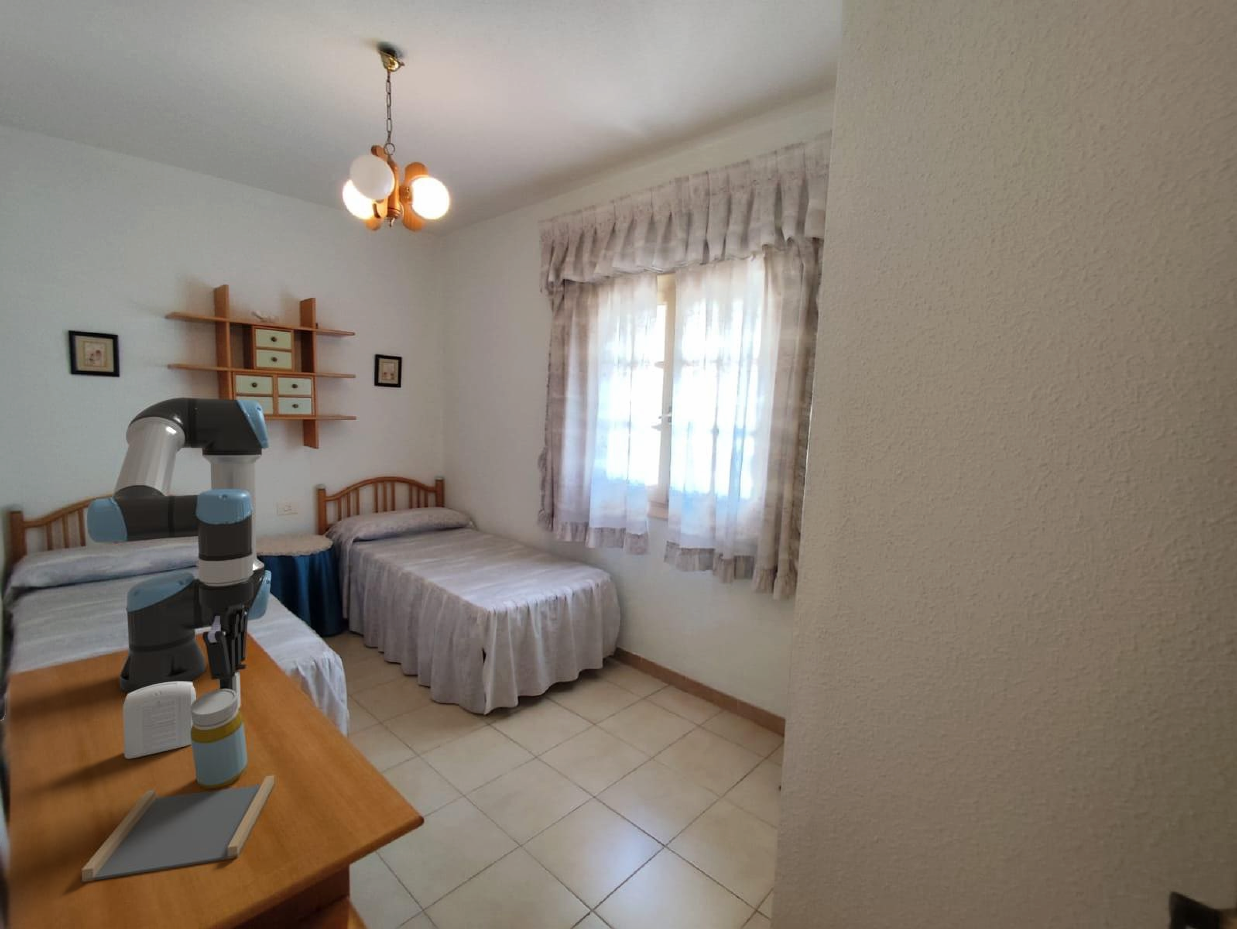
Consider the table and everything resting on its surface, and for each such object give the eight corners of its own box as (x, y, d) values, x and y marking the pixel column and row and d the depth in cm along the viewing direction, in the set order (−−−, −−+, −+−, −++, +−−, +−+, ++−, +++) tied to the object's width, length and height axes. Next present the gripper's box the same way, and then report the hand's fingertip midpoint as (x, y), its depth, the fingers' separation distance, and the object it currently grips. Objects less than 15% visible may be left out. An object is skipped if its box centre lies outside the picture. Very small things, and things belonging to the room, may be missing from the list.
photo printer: (198, 733, 103) (196, 672, 102) (195, 745, 99) (193, 683, 98) (127, 749, 97) (124, 686, 96) (122, 763, 94) (118, 697, 92)
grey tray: (147, 801, 85) (146, 791, 85) (274, 785, 90) (274, 775, 90) (82, 882, 71) (81, 869, 71) (237, 857, 76) (237, 846, 76)
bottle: (187, 781, 90) (176, 707, 86) (230, 752, 96) (222, 682, 92) (214, 797, 87) (204, 722, 83) (257, 767, 93) (249, 695, 89)
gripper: (218, 569, 96) (221, 692, 98) (181, 593, 84) (186, 733, 86) (265, 567, 98) (267, 688, 101) (236, 590, 86) (239, 727, 88)
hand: (230, 708), depth 93 cm, fingers closed
